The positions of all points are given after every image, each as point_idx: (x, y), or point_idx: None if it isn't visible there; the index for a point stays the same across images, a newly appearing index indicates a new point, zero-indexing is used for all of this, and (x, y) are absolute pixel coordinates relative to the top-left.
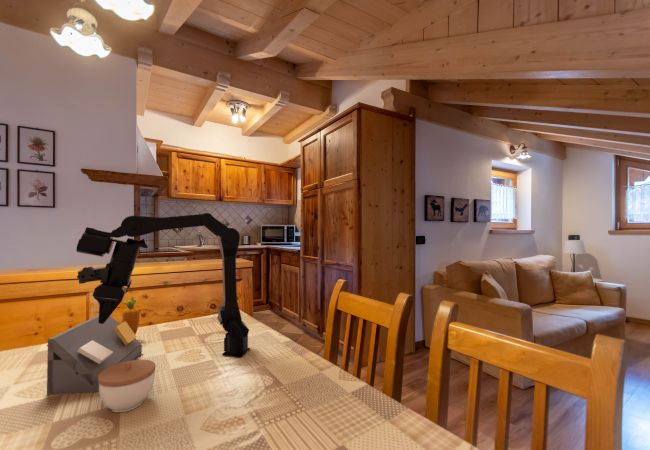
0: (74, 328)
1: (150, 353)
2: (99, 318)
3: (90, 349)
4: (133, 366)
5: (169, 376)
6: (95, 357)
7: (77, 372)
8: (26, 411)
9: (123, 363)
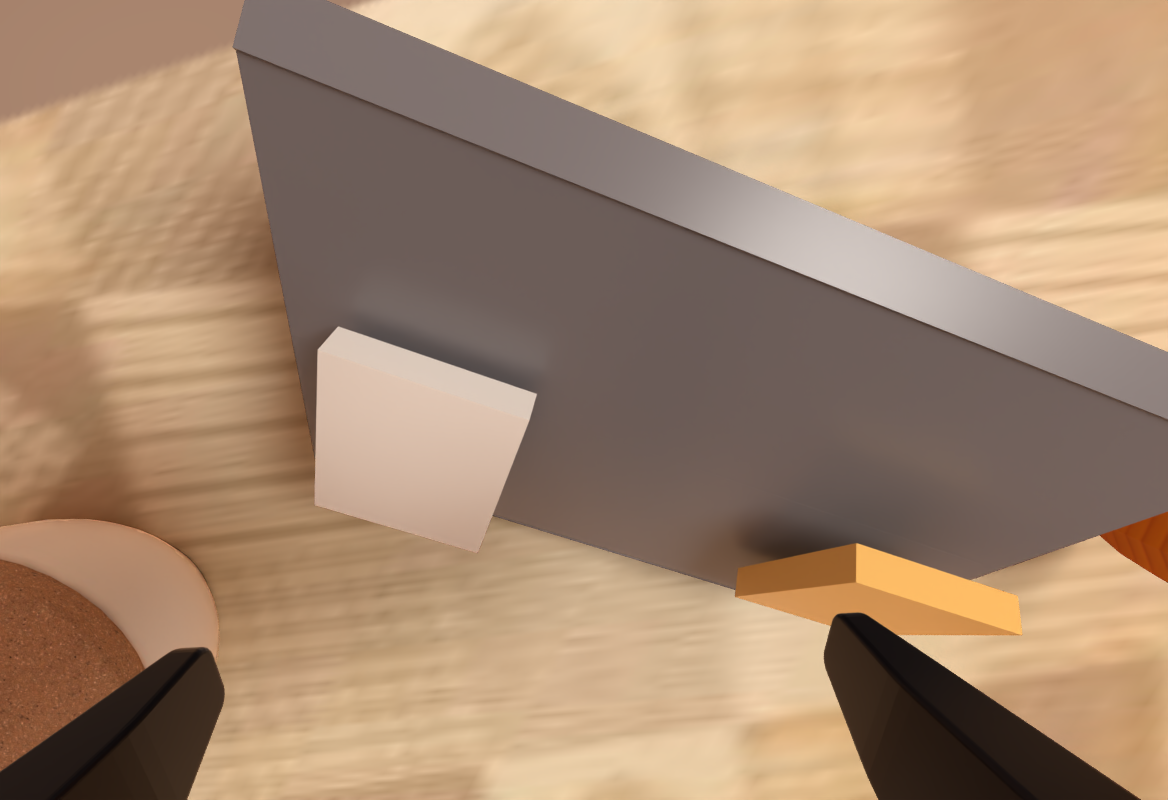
0: (673, 208)
1: (781, 638)
2: (72, 733)
3: (372, 427)
4: None
5: (384, 763)
6: (319, 466)
7: None
8: None
9: (59, 702)
